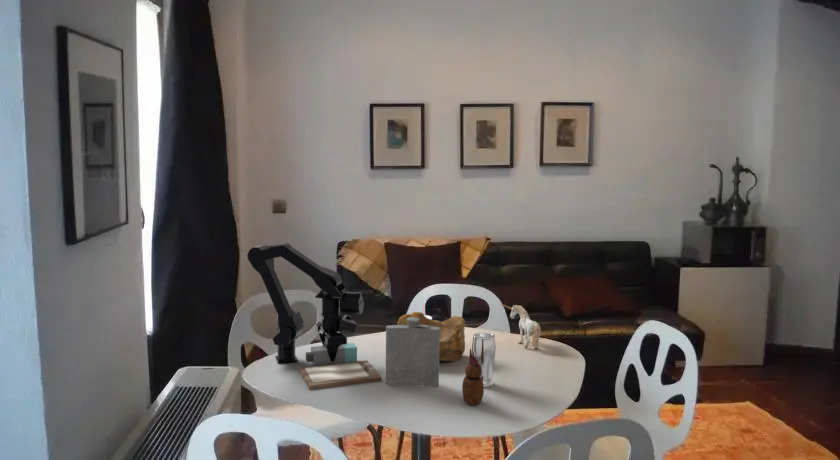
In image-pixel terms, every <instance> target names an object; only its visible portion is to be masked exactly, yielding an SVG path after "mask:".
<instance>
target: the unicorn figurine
mask: <svg viewBox="0 0 840 460" xmlns="http://www.w3.org/2000/svg"><path fill="white" fill-rule="evenodd" d="M500 305H501V306H502V307H505V308H507V309H509V310H511V312H510V314H509V318H511V319H512V320H513V319H515V316H516V315H519V317H520V319H519V322H518V326H519V331H520V333H519V334H520V338H519V340H518V344H521V345H523V344H524V345H523V346H524V349H528V346H529V344H530V343H529V341H531V339H532V347H533V349H534V350H538V349H539V348H540V345H539V340H540V336H541V326H540V324H539V323H538V322H537V321H535V320H532V319H530V316H529V313H528V311H527V310H526V309H525V308H524V307H523V306H522V305H518V304H515V305H514V304H513V305H512V307H511V306H508V305H506V304H503V303H501V304H500ZM531 336H532V338H531ZM524 339H525V342H524Z"/></svg>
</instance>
